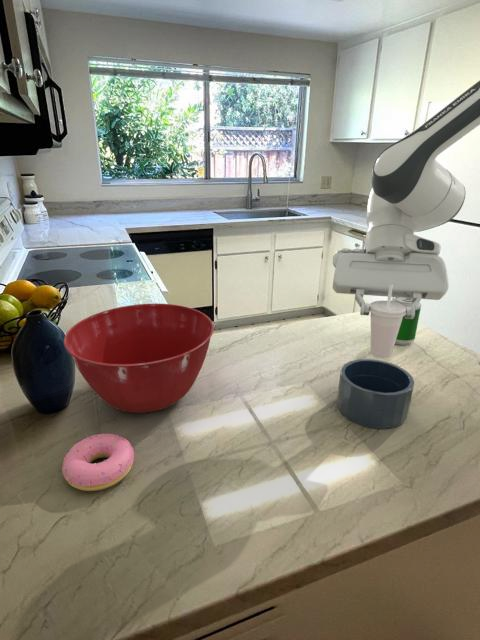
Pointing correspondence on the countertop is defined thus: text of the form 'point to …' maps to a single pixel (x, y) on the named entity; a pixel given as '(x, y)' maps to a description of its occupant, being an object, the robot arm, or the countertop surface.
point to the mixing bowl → (141, 353)
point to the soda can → (407, 323)
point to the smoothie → (385, 325)
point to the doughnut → (98, 474)
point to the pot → (374, 393)
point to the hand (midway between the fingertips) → (387, 315)
